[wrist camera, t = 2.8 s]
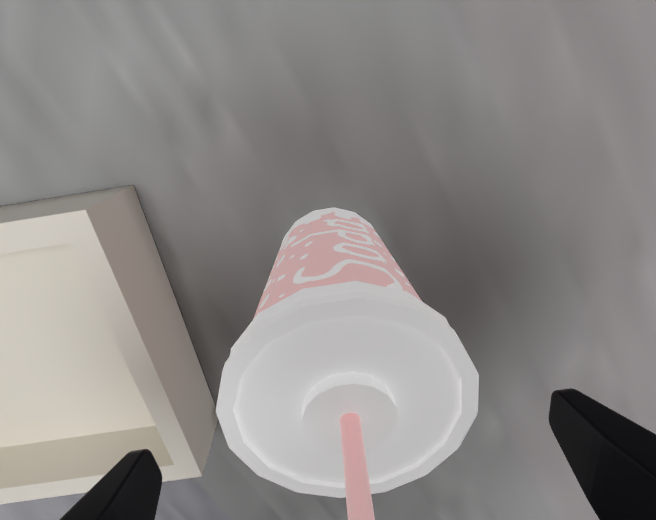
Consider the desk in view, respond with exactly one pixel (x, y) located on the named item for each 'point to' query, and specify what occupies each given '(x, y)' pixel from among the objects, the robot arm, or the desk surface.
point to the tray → (92, 349)
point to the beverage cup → (344, 370)
